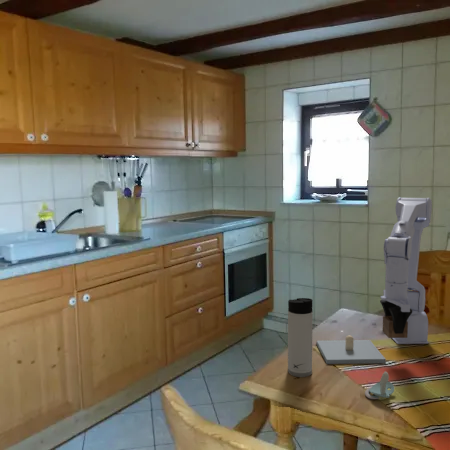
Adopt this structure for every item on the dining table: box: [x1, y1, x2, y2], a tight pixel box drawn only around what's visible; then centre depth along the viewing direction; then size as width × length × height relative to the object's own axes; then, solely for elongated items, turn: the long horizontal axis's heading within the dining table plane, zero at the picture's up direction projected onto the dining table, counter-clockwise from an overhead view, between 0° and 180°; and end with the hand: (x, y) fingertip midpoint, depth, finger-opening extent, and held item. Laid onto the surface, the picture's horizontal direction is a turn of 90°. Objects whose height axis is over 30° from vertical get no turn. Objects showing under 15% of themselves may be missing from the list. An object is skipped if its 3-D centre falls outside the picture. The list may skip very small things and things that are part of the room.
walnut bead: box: [382, 315, 408, 339], centre depth 127 cm, size 5×5×4 cm
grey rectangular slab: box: [316, 334, 387, 365], centre depth 133 cm, size 16×14×5 cm
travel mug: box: [287, 297, 314, 378], centre depth 120 cm, size 6×7×20 cm
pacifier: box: [364, 370, 395, 400], centre depth 108 cm, size 7×6×6 cm
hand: (394, 329), depth 127 cm, fingers closed on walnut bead, 5 cm apart
